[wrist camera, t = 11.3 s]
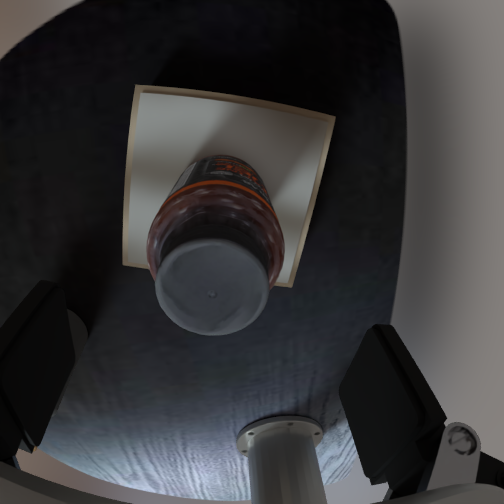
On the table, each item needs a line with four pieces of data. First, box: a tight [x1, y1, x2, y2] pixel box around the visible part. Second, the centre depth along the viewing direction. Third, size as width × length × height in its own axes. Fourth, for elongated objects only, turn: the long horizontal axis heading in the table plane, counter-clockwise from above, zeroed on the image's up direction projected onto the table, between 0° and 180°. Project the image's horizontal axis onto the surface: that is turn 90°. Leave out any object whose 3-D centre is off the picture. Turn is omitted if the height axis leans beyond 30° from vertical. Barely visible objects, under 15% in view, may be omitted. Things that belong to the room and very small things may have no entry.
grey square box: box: [123, 85, 336, 287], centre depth 23 cm, size 13×13×4 cm
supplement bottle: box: [146, 155, 285, 336], centre depth 16 cm, size 6×6×11 cm
